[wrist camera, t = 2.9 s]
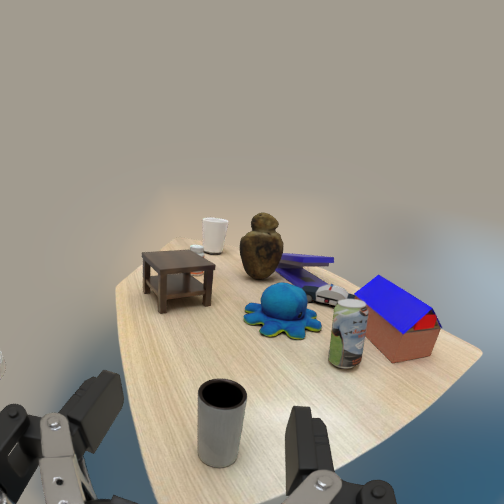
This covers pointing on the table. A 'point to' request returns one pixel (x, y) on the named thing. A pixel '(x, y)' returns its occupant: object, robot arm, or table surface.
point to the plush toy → (283, 312)
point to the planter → (220, 421)
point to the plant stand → (176, 276)
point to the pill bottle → (198, 250)
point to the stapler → (296, 274)
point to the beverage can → (348, 333)
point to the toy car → (326, 294)
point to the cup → (214, 235)
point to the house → (398, 321)
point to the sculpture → (261, 247)
